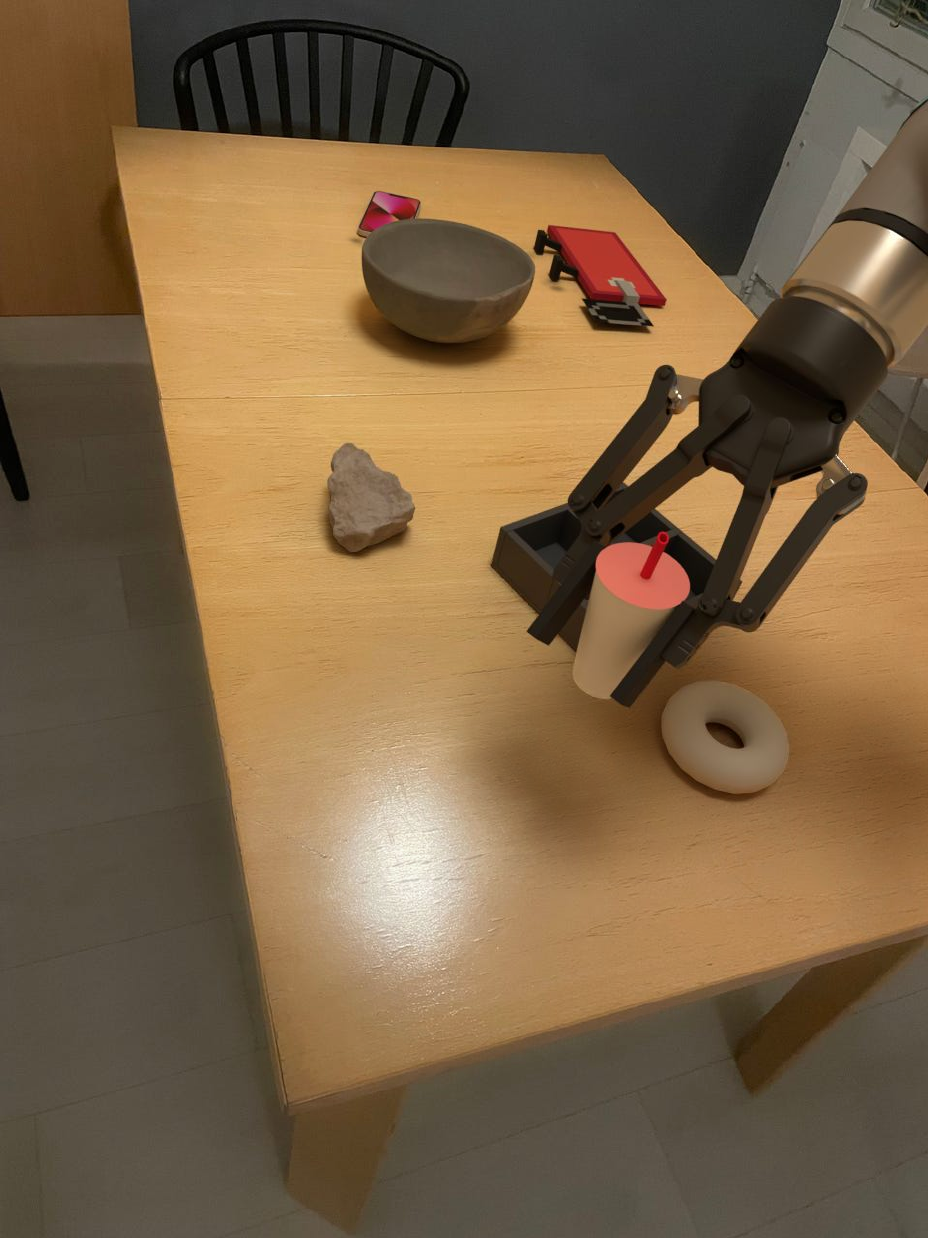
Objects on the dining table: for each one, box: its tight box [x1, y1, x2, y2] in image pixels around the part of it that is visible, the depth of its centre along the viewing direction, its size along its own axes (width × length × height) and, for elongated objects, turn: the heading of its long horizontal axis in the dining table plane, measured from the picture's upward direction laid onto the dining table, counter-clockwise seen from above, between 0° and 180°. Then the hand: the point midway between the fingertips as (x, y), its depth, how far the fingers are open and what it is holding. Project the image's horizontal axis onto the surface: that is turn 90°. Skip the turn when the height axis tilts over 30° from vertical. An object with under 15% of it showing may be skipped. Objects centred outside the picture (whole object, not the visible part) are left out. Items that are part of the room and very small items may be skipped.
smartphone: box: [357, 190, 422, 238], centre depth 128 cm, size 7×1×15 cm
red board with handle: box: [533, 224, 668, 327], centre depth 125 cm, size 30×3×15 cm
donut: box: [660, 680, 791, 795], centre depth 68 cm, size 10×4×10 cm
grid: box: [490, 481, 743, 653], centre depth 78 cm, size 15×15×5 cm
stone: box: [326, 442, 416, 553], centre depth 78 cm, size 10×8×6 cm
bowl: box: [361, 217, 536, 344], centre depth 105 cm, size 20×20×10 cm
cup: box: [571, 532, 690, 700], centre depth 50 cm, size 5×5×12 cm
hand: (578, 669), depth 50 cm, fingers closed on cup, 5 cm apart
